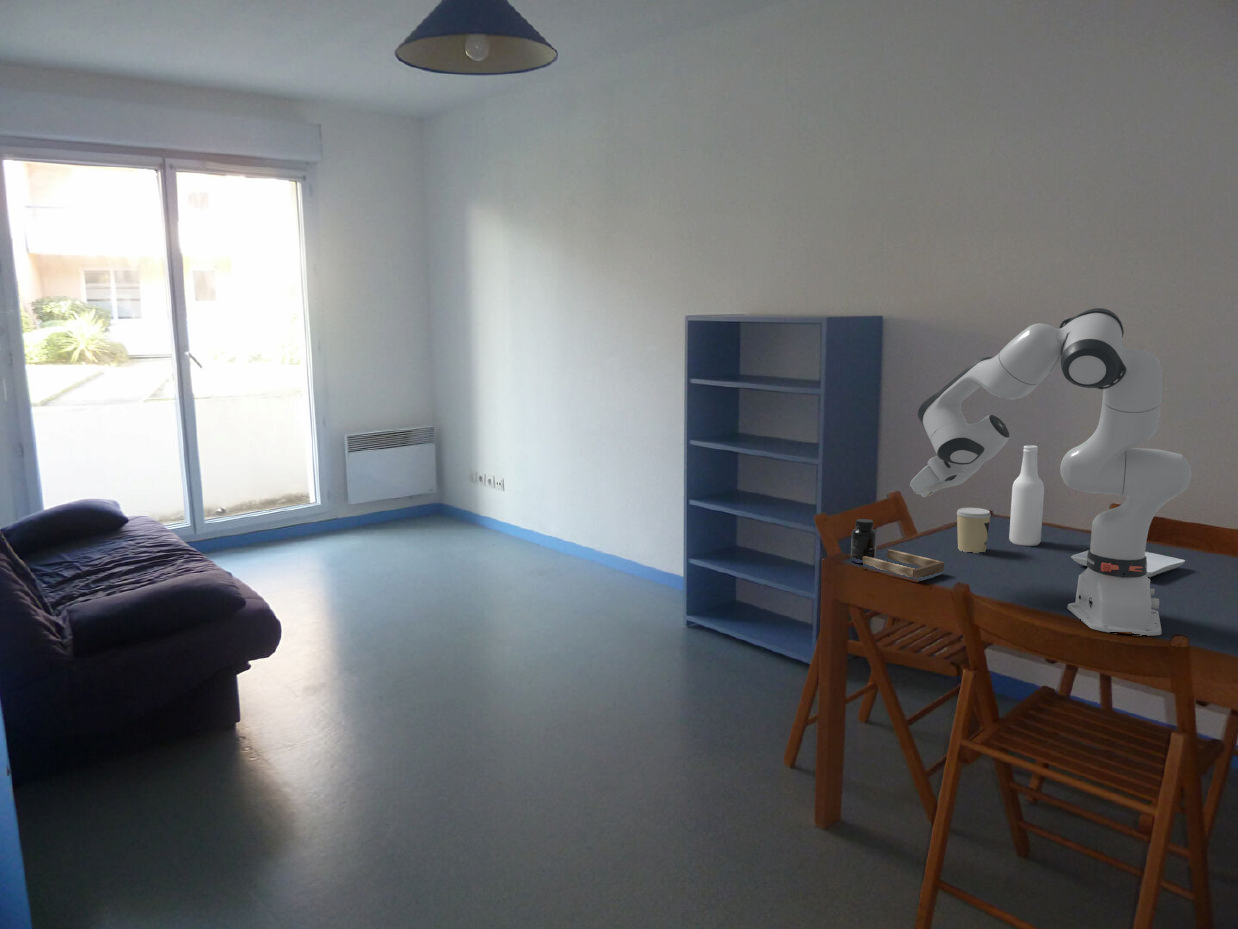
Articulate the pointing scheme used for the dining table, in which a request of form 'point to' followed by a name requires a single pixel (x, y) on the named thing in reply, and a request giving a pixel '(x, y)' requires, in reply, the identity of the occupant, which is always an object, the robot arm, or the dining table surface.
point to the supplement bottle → (863, 539)
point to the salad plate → (1154, 562)
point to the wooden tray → (925, 564)
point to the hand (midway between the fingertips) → (924, 494)
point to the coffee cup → (972, 529)
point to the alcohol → (1027, 502)
